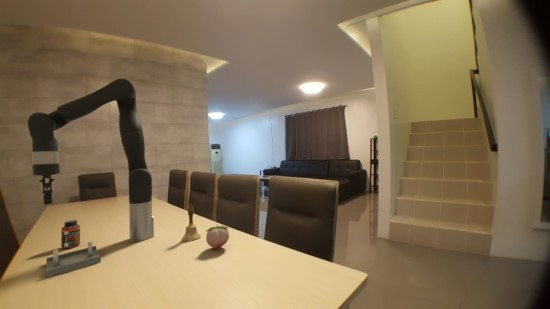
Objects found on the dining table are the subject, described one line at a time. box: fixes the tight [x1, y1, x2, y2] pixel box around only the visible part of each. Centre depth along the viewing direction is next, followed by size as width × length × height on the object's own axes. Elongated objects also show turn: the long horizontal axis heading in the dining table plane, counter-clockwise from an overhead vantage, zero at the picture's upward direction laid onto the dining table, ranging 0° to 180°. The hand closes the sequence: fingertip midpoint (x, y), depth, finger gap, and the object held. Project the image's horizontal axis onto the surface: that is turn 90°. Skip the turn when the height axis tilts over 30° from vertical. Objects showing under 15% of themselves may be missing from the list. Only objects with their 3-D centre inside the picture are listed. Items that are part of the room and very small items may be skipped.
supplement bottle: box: [60, 219, 81, 250], centre depth 94 cm, size 6×6×11 cm
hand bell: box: [181, 203, 202, 242], centre depth 100 cm, size 8×8×16 cm
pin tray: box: [44, 241, 102, 279], centre depth 78 cm, size 14×14×6 cm
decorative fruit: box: [205, 223, 230, 249], centre depth 88 cm, size 9×8×10 cm
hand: (48, 202), depth 86 cm, fingers open, 8 cm apart
